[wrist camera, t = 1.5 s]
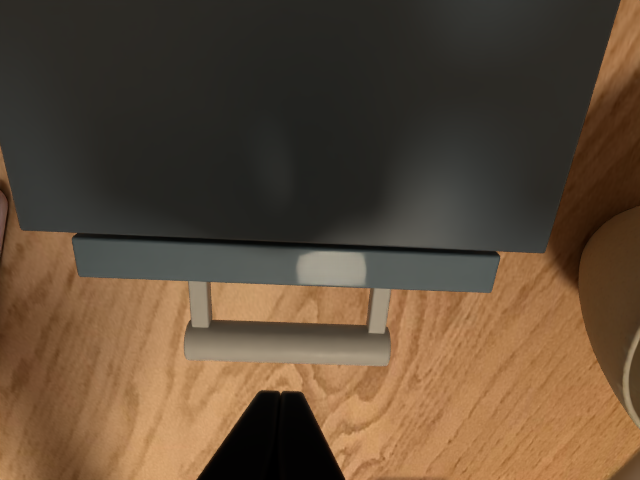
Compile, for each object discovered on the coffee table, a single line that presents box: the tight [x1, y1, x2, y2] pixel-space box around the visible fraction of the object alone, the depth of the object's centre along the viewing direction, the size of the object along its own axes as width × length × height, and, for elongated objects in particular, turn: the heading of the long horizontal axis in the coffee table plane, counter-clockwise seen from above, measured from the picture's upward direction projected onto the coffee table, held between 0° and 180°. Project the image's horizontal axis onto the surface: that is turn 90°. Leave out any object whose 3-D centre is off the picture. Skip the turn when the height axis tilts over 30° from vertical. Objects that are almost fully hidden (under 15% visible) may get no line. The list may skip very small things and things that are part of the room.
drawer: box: [72, 233, 500, 366], centre depth 13 cm, size 18×11×7 cm, turn 177°
